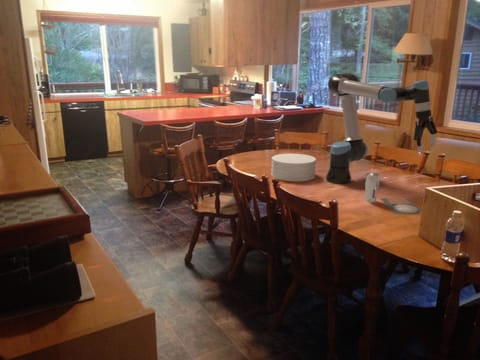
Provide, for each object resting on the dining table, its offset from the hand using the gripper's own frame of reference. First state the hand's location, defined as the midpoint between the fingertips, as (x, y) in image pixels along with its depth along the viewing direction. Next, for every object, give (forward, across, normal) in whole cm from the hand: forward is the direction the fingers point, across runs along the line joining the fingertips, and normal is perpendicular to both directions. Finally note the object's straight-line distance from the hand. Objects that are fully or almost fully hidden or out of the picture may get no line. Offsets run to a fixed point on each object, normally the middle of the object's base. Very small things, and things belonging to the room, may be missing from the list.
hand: (427, 148), depth 226 cm
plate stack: (+10, -32, +74) cm, 81 cm away
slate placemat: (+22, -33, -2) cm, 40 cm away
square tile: (+21, -29, +3) cm, 36 cm away
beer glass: (+19, -39, +12) cm, 45 cm away
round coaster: (+22, -36, -6) cm, 43 cm away
